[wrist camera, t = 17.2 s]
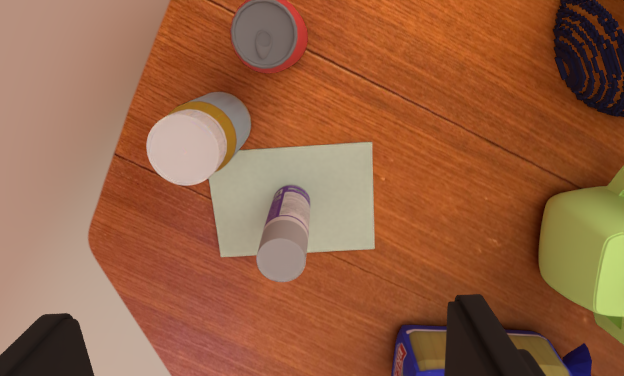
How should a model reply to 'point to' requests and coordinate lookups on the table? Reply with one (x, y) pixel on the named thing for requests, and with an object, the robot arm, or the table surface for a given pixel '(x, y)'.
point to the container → (285, 235)
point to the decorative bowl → (608, 54)
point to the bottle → (198, 138)
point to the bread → (432, 345)
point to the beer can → (268, 35)
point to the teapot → (587, 250)
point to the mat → (310, 176)
